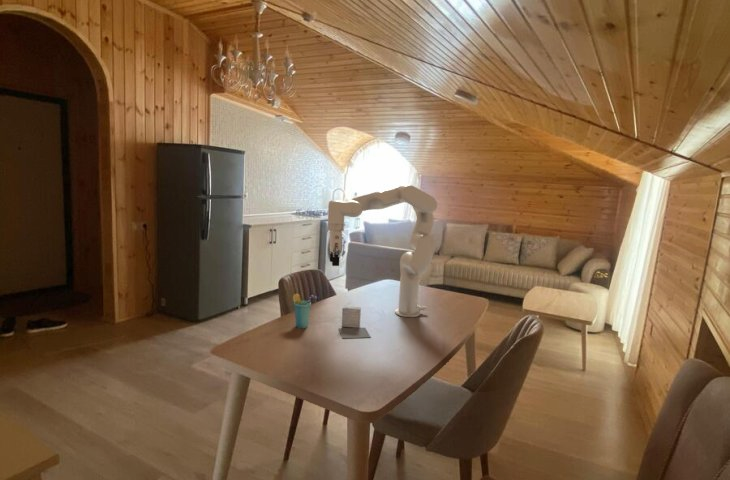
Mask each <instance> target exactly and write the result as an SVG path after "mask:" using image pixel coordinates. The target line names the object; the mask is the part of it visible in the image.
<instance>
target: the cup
mask: <svg viewBox="0 0 730 480" xmlns="http://www.w3.org/2000/svg"><path fill="white" fill-rule="evenodd" d="M312 298H314V299H316V300H319V296H317V295H313V294H311V295H310V296H309V298H308V300H302V299H301V295H300V294H299V293H294V294H293V296H292V301H293V306H294V313H295V314H294V315H295V327H297V329H305V328H308V326H309V320H310V319H309V318H310V311H311V306H312V302H311V299H312Z"/></svg>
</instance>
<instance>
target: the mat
mask: <svg viewBox="0 0 730 480" xmlns="http://www.w3.org/2000/svg"><path fill="white" fill-rule="evenodd" d="M338 330H339V334H340V336H341V339H343V340H347V339H348V340H349V339H371V338H372V337H371V335H370V333H369V332H368V330H367V328H366V327H359V328H353V327H343V328H342V327H341V328H340V327H339V328H338Z"/></svg>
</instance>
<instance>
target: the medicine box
mask: <svg viewBox="0 0 730 480" xmlns="http://www.w3.org/2000/svg"><path fill="white" fill-rule="evenodd" d="M361 309H362V307H361V306H355V305H354V306H351V305H344V306H343V307H342V313H341V316H342V317H341V328H342V327H343V328H361V315H362V313H361V312H362V310H361Z"/></svg>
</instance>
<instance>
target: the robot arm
mask: <svg viewBox="0 0 730 480" xmlns="http://www.w3.org/2000/svg"><path fill="white" fill-rule="evenodd" d="M402 203H406V204H408V205H410V206H411V207H412V209H413V210H414V212H415V214H416V220H415V224H414V227H413V229H412V230H413V231H412V232H411V236H410V238H409V247H410V248H411V249H413V250H414V252H413V251H406V252H404V253H403V254H402V255H401V256H400V259H399V267H400V268H399V269H400V271H399V272H400V278H399V295H398V297H399V298H398V307H397V308H396V309H395V310H394V312H395V314H396V315H398V316H400V317H404V318H417V317H419V316H420V315H421V311H427V306H423V305H419V303H418V302H419V291H420V289H419V288H420V276H421V275H424V274H425V273H426V272H427V270H428V268H429V266H430V264H431V262H432V259H433V257H434V254H435V250H436V246H437V245H436V244H437V243H436V239H435V237H434V236H432V234H431V233H432V230H433V227H434V222H435V221H434V214H433V213H434V212H435V211H437V208H438V202H437V199H436V198H435V197H433V196H432V195H430V194H429V193H427V192H425V191H423V190H421V189H420V188H418V187H416V186H415V185H412V184H398V185H395V186H392V187H388V188H385V189H381V190H379V191H374V192H371V193H367V194H364V195H360V196H356V197H354V198H353V197H352V198H350V199H346V200H345V201H344V200H338V199H337V200H334V199H332V200H329V202H328V205H327V206H328V207H327V208H328V209H327V231H329V250H330V253H329V262H331V266H332V267H339V266H340V253H342V252H343V233H342V232H344V231H345V217H349V218H357V217H359V216H361V215H362V213H363V212H365V211H371V210H383V209H386V208H390V207H393V206H396V205H399V204H402Z"/></svg>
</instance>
